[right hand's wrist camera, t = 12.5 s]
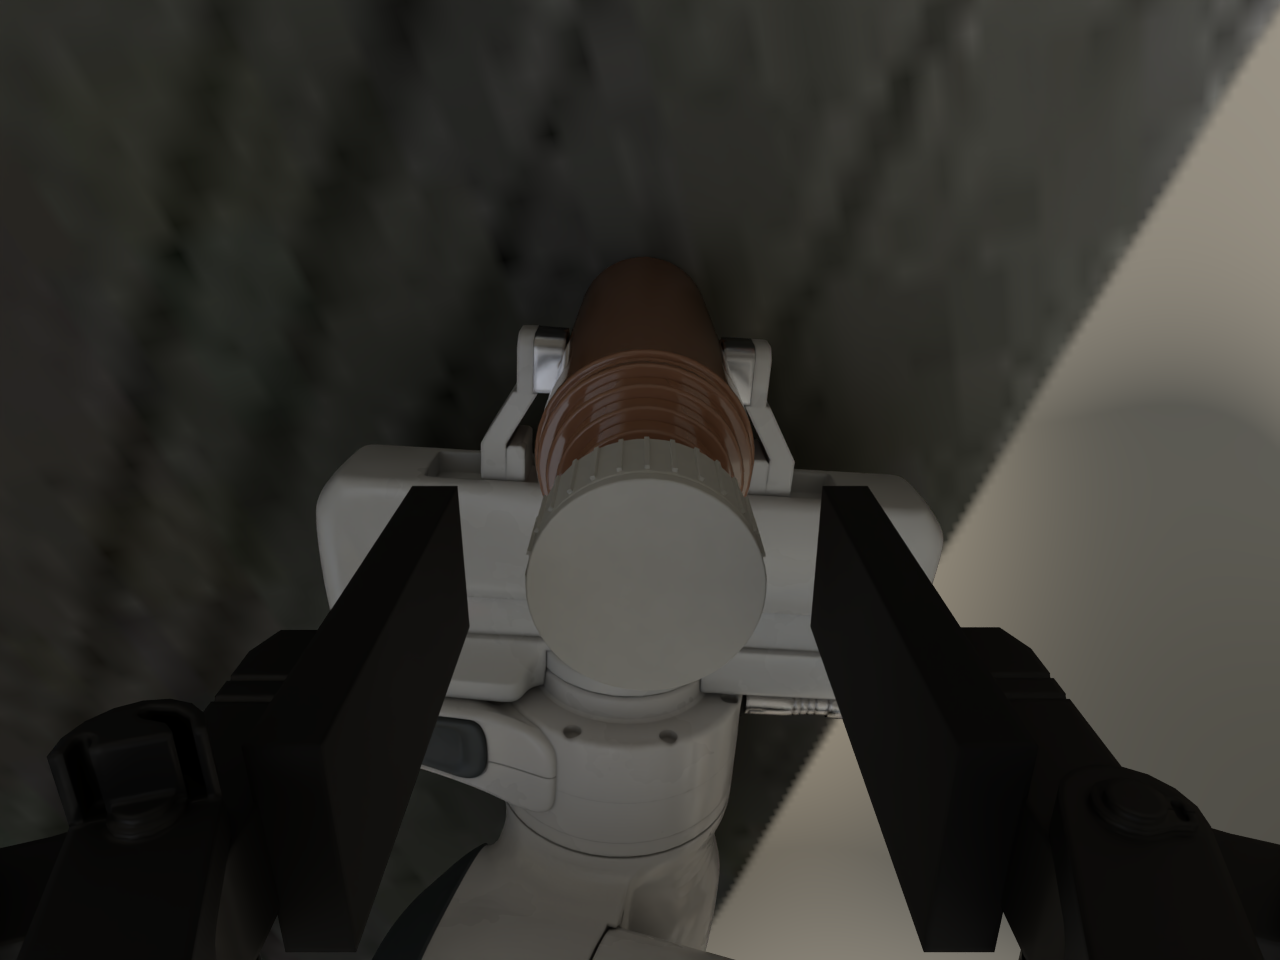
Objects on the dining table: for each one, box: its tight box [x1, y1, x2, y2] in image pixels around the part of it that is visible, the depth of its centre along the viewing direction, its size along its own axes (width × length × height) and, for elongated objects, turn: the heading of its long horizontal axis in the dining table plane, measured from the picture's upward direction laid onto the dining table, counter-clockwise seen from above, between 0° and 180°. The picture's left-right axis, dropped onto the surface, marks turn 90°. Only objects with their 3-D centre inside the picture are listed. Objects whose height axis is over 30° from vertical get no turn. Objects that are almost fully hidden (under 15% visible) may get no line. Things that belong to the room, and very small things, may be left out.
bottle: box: [534, 257, 755, 497], centre depth 23 cm, size 5×5×20 cm
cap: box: [525, 437, 767, 690], centre depth 14 cm, size 4×4×2 cm
